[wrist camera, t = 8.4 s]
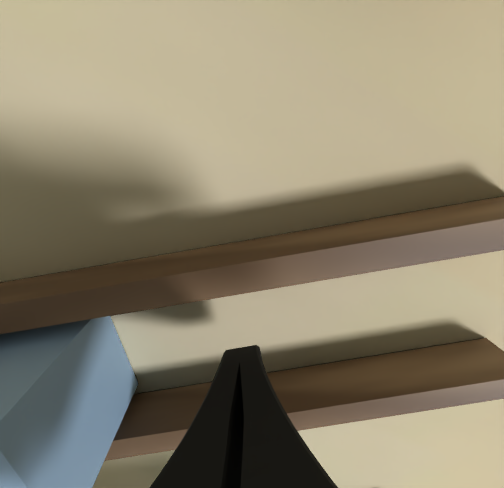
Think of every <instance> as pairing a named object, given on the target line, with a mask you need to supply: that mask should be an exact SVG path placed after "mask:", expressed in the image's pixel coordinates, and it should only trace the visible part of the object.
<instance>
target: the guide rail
mask: <svg viewBox="0 0 504 488" xmlns="http://www.w3.org/2000/svg"><path fill="white" fill-rule="evenodd" d="M500 250H504V196H502V197H496V198H490V199H484V200H479V201H473V202H467V203H461V204H455V205H449V206H444V207H438V208H432V209H426V210H420V211H414V212H409V213H403V214H397V215H391V216H385V217H380V218H374V219H368V220H362V221H356V222H350V223H345V224H339V225H333V226H327V227H321V228H316V229H310V230H304V231H298V232H292V233H286V234H281V235H275V236H269V237H263V238H257V239H252V240H246V241H240V242H234V243H228V244H222V245H217V246H211V247H205V248H199V249H193V250H187V251H182V252H176V253H170V254H164V255H158V256H153V257H147V258H141V259H135V260H129V261H123V262H118V263H112V264H106V265H100V266H94V267H89V268H83V269H77V270H71V271H65V272H59V273H54V274H48V275H42V276H36V277H30V278H24V279H19V280H13V281H7V282H1V283H0V334H5V333H11V332H17V331H23V330H29V329H35V328H41V327H47V326H53V325H59V324H65V323H71V322H77V321H83V320H88V319H94V318H100V317H106V316H112V315H118V314H124V313H130V312H136V311H142V310H148V309H154V308H160V307H166V306H172V305H178V304H184V303H190V302H196V301H202V300H208V299H214V298H220V297H226V296H232V295H238V294H244V293H250V292H256V291H262V290H268V289H274V288H279V287H285V286H291V285H297V284H303V283H309V282H315V281H321V280H327V279H333V278H339V277H345V276H351V275H357V274H363V273H369V272H375V271H381V270H387V269H393V268H399V267H405V266H411V265H417V264H423V263H429V262H435V261H441V260H447V259H453V258H459V257H465V256H471V255H476V254H482V253H488V252H494V251H500ZM267 376H268V378H269V380H270V382H271V384H272V387H273V389H274V391H275V393H276V395H277V397H278V399H279V401H280V403H281V404H282V406H283V408H284V410H285V412H286V413H287V415H288V417H289V418H290V420H291V422H292V423H293V425H294V427H295V428H296V430H297V431H299V430H305V429H311V428H318V427H324V426H331V425H337V424H343V423H350V422H356V421H363V420H369V419H376V418H382V417H388V416H395V415H401V414H408V413H414V412H421V411H427V410H433V409H440V408H446V407H453V406H459V405H466V404H472V403H478V402H485V401H491V400H498V399H504V351H502V350H501V349H500V348H498V347H497V346H496V345H494V344H493V343H492V342H491V341H489V340H488V339H487V338H483V339H476V340H470V341H464V342H458V343H452V344H445V345H439V346H433V347H427V348H420V349H414V350H408V351H402V352H396V353H389V354H383V355H377V356H371V357H365V358H358V359H352V360H346V361H340V362H333V363H327V364H321V365H315V366H309V367H302V368H296V369H290V370H284V371H277V372H271V373H267ZM211 384H212V382H209V383H203V384H197V385H190V386H184V387H178V388H172V389H165V390H159V391H153V392H147V393H141V394H134V395H133V397H132V399H131V401H130V403H129V406H128V408H127V410H126V412H125V415H124V417H123V419H122V422H121V424H120V426H119V428H118V431H117V433H116V435H115V437H114V440H113V442H112V444H111V446H110V449H109V451H108V453H107V455H106V458H105V460H104V461H106V460H112V459H119V458H125V457H132V456H138V455H144V454H151V453H157V452H164V451H170V450H176V448H177V447H178V445H179V444H180V442H181V440H182V439H183V437H184V435H185V434H186V432H187V430H188V429H189V427H190V425H191V423H192V422H193V420H194V418H195V416H196V414H197V412H198V410H199V408H200V407H201V405H202V403H203V401H204V399H205V397H206V395H207V392H208V390H209V388H210V386H211Z"/></svg>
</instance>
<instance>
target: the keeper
mask: <svg viewBox="0 0 504 488" xmlns="http://www.w3.org/2000/svg"><path fill="white" fill-rule="evenodd" d="M137 385H138V382H137V379H136V377H135V374H134V372H133V370H132V367H131V365H130V362H129V360H128V358H127V355H126V353H125V350H124V348H123V346H122V343H121V341H120V338H119V336H118V334H117V331H116V329H115V326H114V324H113V322H112V319H111V317H110V316H106V317H100V318H94V319H88V320H83V321H77V322H71V323H65V324H59V325H53V326H47V327H41V328H35V329H29V330H23V331H17V332H11V333H5V334H0V488H92V487H93V485H94V482H95V480H96V478H97V476H98V473H99V471H100V469H101V467H102V464H103V462H104V460H105V458H106V455H107V453H108V451H109V449H110V446H111V444H112V442H113V440H114V437H115V435H116V433H117V431H118V428H119V426H120V424H121V422H122V419H123V417H124V415H125V412H126V410H127V408H128V406H129V403H130V401H131V399H132V397H133V394H134V392H135V390H136V388H137Z"/></svg>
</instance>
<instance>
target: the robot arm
mask: <svg viewBox="0 0 504 488" xmlns="http://www.w3.org/2000/svg"><path fill="white" fill-rule="evenodd" d="M150 488H338V487H337V486H336V485H335V483H334V482H333V481H332V480H331V478H330V477H329V476H328V474H327V473H326V471H325V470H324V469H323V467H322V466H321V465H320V463H319V462H318V461H317V459H316V458H315V457H314V455H313V454H312V452H311V451H310V450H309V448H308V447H307V445H306V444H305V442H304V441H303V439H302V438H301V436H300V435H299V433H298V431H297V430H296V428H295V427H294V425H293V423H292V422H291V420H290V418H289V417H288V415H287V413H286V412H285V410H284V408H283V406H282V404H281V403H280V401H279V399H278V397H277V395H276V393H275V391H274V389H273V387H272V384H271V382H270V380H269V378H268V376H267V373H266V371H265V368H264V365H263V362H262V358H261V353H260V348H259V347H258V346H257V345H254V346H248V347H242V348H236V349H230V350H226V351H225V352H224V354H223V357H222V360H221V363H220V365H219V368H218V370H217V373H216V375H215V377H214V380H213V382H212V384H211V386H210V388H209V390H208V392H207V395H206V397H205V399H204V401H203V403H202V405H201V407H200V408H199V410H198V412H197V414H196V416H195V418H194V420H193V422H192V423H191V425H190V427H189V429H188V430H187V432H186V434H185V435H184V437H183V439H182V440H181V442H180V444H179V445H178V447H177V448H176V450H175V452H174V453H173V455H172V456H171V458H170V459H169V461H168V462H167V464H166V465H165V466H164V468H163V469H162V471H161V472H160V474H159V475H158V477H157V478H156V480H155V481H154V482H153V484H152V485H151V487H150Z"/></svg>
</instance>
